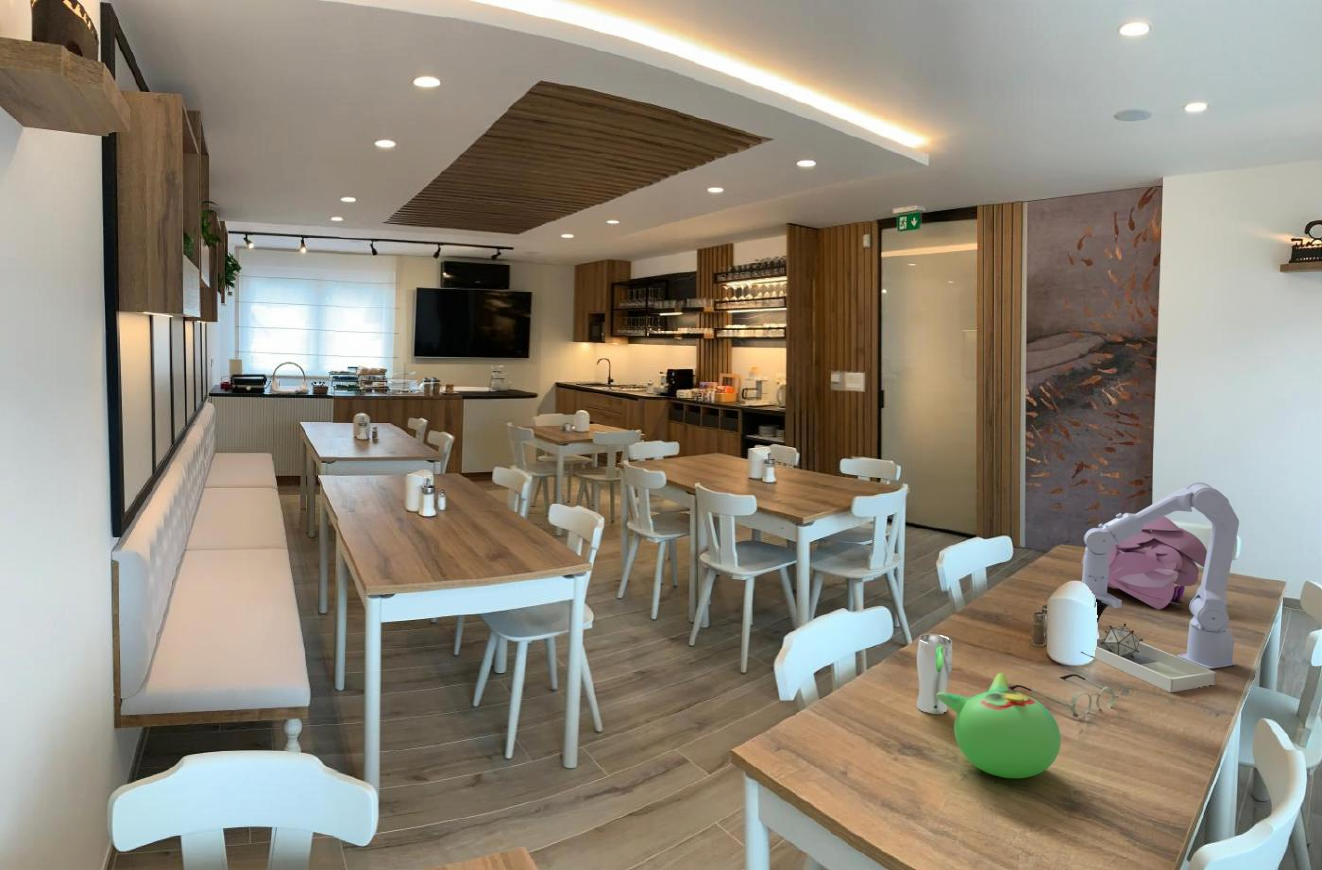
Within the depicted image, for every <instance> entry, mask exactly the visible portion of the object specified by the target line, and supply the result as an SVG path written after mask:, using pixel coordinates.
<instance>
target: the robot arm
mask: <svg viewBox="0 0 1322 870" xmlns="http://www.w3.org/2000/svg"><path fill="white" fill-rule="evenodd" d="M1193 508H1194V509H1195V510H1196V511H1197V512H1199V513H1201V514H1202V515H1204V517H1205V518H1207V520H1208V521H1210V523H1211V529H1210V535H1209V541H1208V544H1207V545H1208V546H1207V549H1206V550H1207V555H1206V560H1205V565H1204V567H1203V571H1202V577H1201V582H1200V585H1199V587H1198V588H1197V590H1196V592H1195V593H1196V594H1195V596H1194V597H1193V598H1192V599H1191V600H1190V603H1189V607H1188V608H1189V611H1190V613H1191V614H1192V616H1193V617H1192V618H1191V619H1190V621H1189V625H1188V634H1187V645H1186V646H1187V647H1186V653H1181V654H1178V655H1177V657H1179V658H1182V659H1184V660H1187V661H1189V662H1192V663H1194V664H1197V665H1199V666H1202V667H1204V668H1207V669H1209V670H1212V669H1217V668H1225V667H1232V665H1233V666H1236V665H1237V664H1236V662H1235V661H1233V657H1234V648H1235V636H1234V634H1233V632H1232V631H1231V629H1230V628H1228V627H1227V626H1228V624H1229V622H1230V616H1229V614H1228V611H1227V607H1228V600H1227V593H1226V592H1227V587H1228V583H1229V582H1228V581H1229V577H1230V571H1231V567H1232V562H1233V556H1234V550H1235V546H1236V541H1237V537H1238V531H1239V525H1240V520H1239V518H1238V516H1237V514H1236V512H1235V511H1234V509H1233V507H1232V505H1231V503H1230V500H1229V498H1228V497H1226V496H1225V494H1223V493H1222V492H1221V491H1219V490H1218V489H1216V488H1213V487H1212V486H1211V485H1209V484H1207V483H1205V482H1194V483H1191V484H1189V485H1188V486H1187V487H1185V486H1184V487H1182V488H1179V489H1177V490H1175V491H1173V492H1172V493H1170V494H1168V495H1167V496H1165V497H1163V498H1161V499H1159V500H1157V501H1156V502H1155V503H1152V504H1151V505H1149V506H1147V507H1145V508H1144V509H1142V510H1140V511H1138V512H1137V513H1130V512H1125V513H1121V512H1118V514H1116V515H1115V518H1114V519H1112V520H1110V521H1108V522H1106V523H1104V524H1103V523H1099V524H1098V527H1092V528H1089V530H1087V531H1086V533H1085V534H1084V536H1083V541H1084V544H1085V545H1086V546H1085V549H1084V553H1085V556H1084V555H1083V556H1084V562H1083V565H1082V577H1081V584H1082V583H1085V584H1086V585H1087V586H1088V587H1089V589H1090V590H1091V591H1092V593H1093V594H1094V595H1095V598H1096V602H1097V615H1098V618H1097V624H1098V623H1099V620H1100V618H1101V616H1102V614H1103V612H1104V611H1105V610H1106V609H1107V607H1108V606H1111V607H1112V608H1115V609H1121V608H1122V599H1119V598H1117V597H1116V596H1114V595H1112V594H1110V593H1108V586H1107V585H1108V572H1109V552H1110V551H1111V549H1112V547H1113V545H1117V544H1119V543H1121V542H1123V541H1125V540H1127V539H1129V538H1131V537H1133V536H1135V535H1137V534H1139V533H1141V531H1142V528H1143V526H1144V525H1145V524H1148V523H1150V522H1152V521H1154V520H1157V519H1159V518H1161V517H1163V516H1165V517H1166V516H1167V515H1169V514H1171V513H1174V512H1186V513H1187V512H1188V513H1189V512H1191V513H1193ZM1118 542H1119V543H1118Z"/></svg>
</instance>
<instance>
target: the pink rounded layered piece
mask: <svg viewBox="0 0 1322 870" xmlns="http://www.w3.org/2000/svg"><path fill="white" fill-rule="evenodd" d="M1118 543H1119V542H1118ZM1207 550H1208V549H1207V548H1206V546H1205V544H1204V543H1203V541H1201V539H1199V537H1197V536H1196V535H1195V534H1193V533H1191V532H1190V531H1188V530H1186V529H1184V528H1181V527H1179V526H1177V525H1176V524H1175V523H1174V522H1173V521H1172V520H1171V519H1170V518H1169V517H1167V516H1166V515H1165V516H1163V517H1161V518H1159V519H1157V520H1154V521H1152V522H1150V523H1148V524H1145V525H1144V526H1143V528H1142V531H1141V533H1139V534H1137V535H1135V536H1133V537H1131V538H1129V539H1127V540H1125V541H1123V542H1121V543H1119V544H1117V545H1113V547H1112V549H1111V551H1110V552H1109V572H1108V585H1107V587H1109V588H1112V589H1120V590H1121V591H1123V592H1124V593H1126V594H1129V595H1131V596H1132V597H1134V598H1135V599H1138V600H1140V601H1141V602H1143V603H1145V604H1146V605H1149V606H1151V607H1152V608H1154V609H1156V610H1162V609H1164V608H1165V607H1167V606H1168V605H1169V603H1170V604H1174V605H1179V606H1181V605H1184V604H1188V602H1185V601H1182V600H1181V599H1182V597H1183V595H1184V592H1185V590H1186V589H1185V588H1186V587H1191V586H1195V585H1196V584H1197V583H1198V580H1199V573H1200V572H1199V571H1200V570H1199V567H1198V566H1197V565H1200V566H1201V567H1203V568H1204V565H1205V560H1206V555H1207ZM1084 556H1085V552H1084V553H1083V556H1082V559H1081V561H1080V564H1081V565H1082V566H1083V562H1084ZM1175 585H1176V586H1175Z"/></svg>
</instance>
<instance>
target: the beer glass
mask: <svg viewBox="0 0 1322 870" xmlns="http://www.w3.org/2000/svg"><path fill="white" fill-rule="evenodd" d="M952 668H953V640H952V639H951V638H950V637H948V636H945V635H941V634H938V633H937V634H936V633H924V634H920V635H919V637H918V643H917V652H916V670H917V676H918V677H917V678H918V686H919V687H918V688H919V689H918V690H919V691H918V696H917V701H916V705H915V706H916V708H917V709H918V711H921V712H922V711H923V712H922V713H925V712H928V713H933V714H942V713H944V712H946V713H947V712H948V706H947V705H946V704H944V703H943V702H942V701H940V700H939V699H938V698H937V696H936V695H937V693H939V692H944V693H947V688H948V685H949V681H950V678H951V674H952ZM928 713H927V714H928ZM942 715H943V714H942Z"/></svg>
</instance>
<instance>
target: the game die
mask: <svg viewBox="0 0 1322 870" xmlns="http://www.w3.org/2000/svg"><path fill="white" fill-rule="evenodd" d="M1108 627H1109V628H1110V629H1109V630H1108V631H1107V630H1104V633H1105V636H1104V637H1105V639H1104V642H1101V643H1100V644H1105V645H1106V646H1107V647H1108V648H1109V649H1110V651H1109V652H1113V653H1114V654H1116V655H1118V656H1120V657H1124V656H1131V657H1132V658H1134V656H1133V654H1134V653H1135V652H1137V653H1139V651H1138V650H1137V648H1138V645H1139V642H1143V641H1144V639H1143V638H1139V637H1138V636H1137V635H1135V634H1134V633H1135V630H1131V629H1129V628H1128V627H1127V624H1126V622H1124V623H1123V626H1122V625H1121V626H1114V627H1113V626H1112V625H1110V624H1109V626H1108Z"/></svg>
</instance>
